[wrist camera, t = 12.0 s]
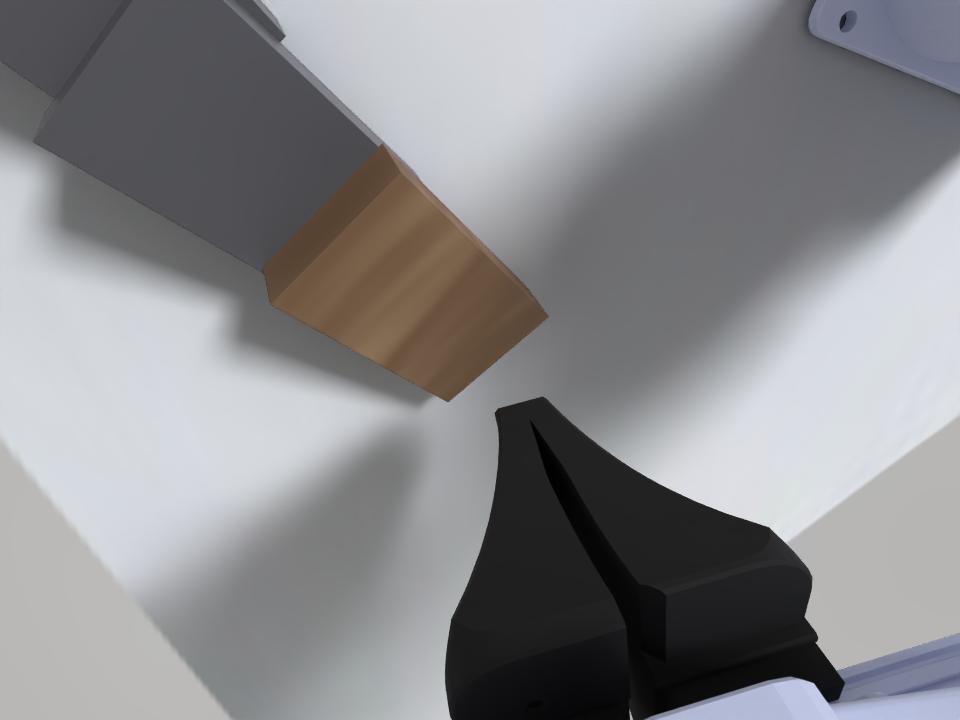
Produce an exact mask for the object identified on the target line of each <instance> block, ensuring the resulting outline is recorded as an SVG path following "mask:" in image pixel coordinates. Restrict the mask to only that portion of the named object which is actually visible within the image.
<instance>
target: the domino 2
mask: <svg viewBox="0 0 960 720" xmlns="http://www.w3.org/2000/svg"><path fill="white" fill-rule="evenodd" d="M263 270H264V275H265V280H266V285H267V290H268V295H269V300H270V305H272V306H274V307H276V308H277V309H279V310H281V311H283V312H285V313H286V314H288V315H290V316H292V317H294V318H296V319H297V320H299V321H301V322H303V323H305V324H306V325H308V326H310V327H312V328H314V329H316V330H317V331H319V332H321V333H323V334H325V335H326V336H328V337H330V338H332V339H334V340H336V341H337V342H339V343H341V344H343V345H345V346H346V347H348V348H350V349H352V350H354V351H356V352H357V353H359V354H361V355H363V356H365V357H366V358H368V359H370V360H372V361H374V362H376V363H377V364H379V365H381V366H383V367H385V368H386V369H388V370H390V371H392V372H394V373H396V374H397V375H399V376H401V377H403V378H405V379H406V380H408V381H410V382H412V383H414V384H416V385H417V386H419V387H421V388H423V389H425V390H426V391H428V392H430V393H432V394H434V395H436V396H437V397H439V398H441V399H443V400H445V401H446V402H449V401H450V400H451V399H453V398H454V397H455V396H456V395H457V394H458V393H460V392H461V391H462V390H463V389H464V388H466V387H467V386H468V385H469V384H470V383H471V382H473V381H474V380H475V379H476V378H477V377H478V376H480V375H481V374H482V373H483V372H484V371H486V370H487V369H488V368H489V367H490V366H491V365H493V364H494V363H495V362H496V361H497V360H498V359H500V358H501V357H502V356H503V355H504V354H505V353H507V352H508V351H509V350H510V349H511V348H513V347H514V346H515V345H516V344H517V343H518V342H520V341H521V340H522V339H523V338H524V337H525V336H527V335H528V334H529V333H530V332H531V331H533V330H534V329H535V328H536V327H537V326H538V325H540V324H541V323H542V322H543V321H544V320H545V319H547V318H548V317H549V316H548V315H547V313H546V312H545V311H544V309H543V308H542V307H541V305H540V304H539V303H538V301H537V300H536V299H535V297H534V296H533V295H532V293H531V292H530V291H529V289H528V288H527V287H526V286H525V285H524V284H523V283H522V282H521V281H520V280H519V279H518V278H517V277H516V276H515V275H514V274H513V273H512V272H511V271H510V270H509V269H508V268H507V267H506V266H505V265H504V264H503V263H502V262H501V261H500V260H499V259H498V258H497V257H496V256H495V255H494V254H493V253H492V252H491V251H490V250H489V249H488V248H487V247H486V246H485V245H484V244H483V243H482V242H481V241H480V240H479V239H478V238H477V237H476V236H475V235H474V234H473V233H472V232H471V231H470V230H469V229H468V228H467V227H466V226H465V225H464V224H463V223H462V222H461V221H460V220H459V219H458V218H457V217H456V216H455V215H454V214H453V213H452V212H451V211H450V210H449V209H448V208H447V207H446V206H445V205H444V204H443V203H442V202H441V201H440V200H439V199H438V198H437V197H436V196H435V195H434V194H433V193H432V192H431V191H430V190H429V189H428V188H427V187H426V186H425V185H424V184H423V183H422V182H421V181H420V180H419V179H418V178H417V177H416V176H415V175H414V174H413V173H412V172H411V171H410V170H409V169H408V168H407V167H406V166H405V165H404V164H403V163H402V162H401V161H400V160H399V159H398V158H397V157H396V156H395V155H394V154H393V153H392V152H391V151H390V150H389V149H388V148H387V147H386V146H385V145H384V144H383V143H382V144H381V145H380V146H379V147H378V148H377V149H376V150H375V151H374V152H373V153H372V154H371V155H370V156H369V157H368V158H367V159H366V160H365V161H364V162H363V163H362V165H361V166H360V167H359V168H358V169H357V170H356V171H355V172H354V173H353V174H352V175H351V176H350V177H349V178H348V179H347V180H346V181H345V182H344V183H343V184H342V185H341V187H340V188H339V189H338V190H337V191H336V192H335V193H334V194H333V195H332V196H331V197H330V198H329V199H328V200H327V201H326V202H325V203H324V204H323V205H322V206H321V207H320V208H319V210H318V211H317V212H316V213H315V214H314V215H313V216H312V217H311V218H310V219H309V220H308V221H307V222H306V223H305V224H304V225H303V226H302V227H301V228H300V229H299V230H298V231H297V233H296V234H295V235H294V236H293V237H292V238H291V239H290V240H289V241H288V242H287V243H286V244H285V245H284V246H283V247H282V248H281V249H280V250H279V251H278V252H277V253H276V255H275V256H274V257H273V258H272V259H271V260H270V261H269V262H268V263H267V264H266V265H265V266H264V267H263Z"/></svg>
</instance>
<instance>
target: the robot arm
mask: <svg viewBox="0 0 960 720" xmlns="http://www.w3.org/2000/svg"><path fill="white" fill-rule="evenodd" d="M844 13H845V14H846V22H845V25H844V26H843V28H842V29H841V30H840V27H839V23H840V20H841V18H842V16H843V15H844ZM809 29H810V31H811V33H812V34H813V35H814V36H816V37H818V38H821V39H823V40H825V41H828V42H830V43H833V44H835V45H838V46H840V47H843V48H845V49H848V50H850V51H853V52H855V53H858V54H860V55H863V56H865V57H868V58H870V59H873V60H875V61H878V62H880V63H883V64H885V65H888V66H890V67H893V68H895V69H898V70H900V71H903V72H905V73H908V74H910V75H913V76H915V77H918V78H920V79H923V80H925V81H928V82H930V83H933V84H935V85H938V86H940V87H942V88H945V89H947V90H950V91H952V92H955V93H957V94H960V0H816V2H815V4H814V6H813V8H812V11H811V14H810V17H809ZM495 417H496V422H497V426H498V432H499V455H498V470H497V478H496V486H495V493H494V499H493V504H492V509H491V513H490V518H489V522H488V526H487V529H486V533H485V536H484V540H483V543H482V547H481V550H480V553H479V556H478V558H477V561H476V564H475V566H474V569H473V572H472V574H471V577H470V580H469V582H468V584H467V587H466V589H465V591H464V593H463V596H462V598H461V600H460V602H459V604H458V606H457V608H456V610H455V613H454V615H453V617H452V619H451V625H450V631H449V637H448V644H447V652H446V663H445V685H446V693H447V700H448V707H449V712H450V717H451V719H452V720H630V713H629V709H630V712H631V715H632V717H633V720H960V633H957V634H954V635H951V636H948V637H944V638H941V639H938V640H935V641H932V642H928V643H925V644H922V645H919V646H915V647H912V648H909V649H905V650H903V651H899V652H896V653H893V654H889V655H887V656H883V657H880V658H876V659H873V660H870V661H867V662H864V663H860V664H857V665H854V666H851V667H847V668H844V669H841V670H838V671H836V670H835V668H834V667H833V666H832V664H831V663H830V661H829V660H828V659H827V658H826V656H825V655H824V653H823V652H822V651H821V650H820V648H819V647H818V645H817V644H816V643H815V642H817V640H818V636H817V633H816V632H815V630H814V629H813V628H812V627H811V625H810V624H809V623H808V621H807V620H806V619H805V613H806V609H807V605H808V601H809V598H810V593H811V589H812V576H811V573H810V571H809V569H808V568H807V567H806V565H805V564H804V563H803V562H802V561H801V560H800V558H799V557H798V556H797V555H796V554H795V552H794V551H793V550H792V549H791V548H789V546H788V545H787V544H786V543H785V542H784V541H783V540H782V539H781V538H780V537H778V536H777V535H776V534H775V533H774V532H773V531H772V530H771V529H770V528H769V527H766V526H763V525H760V524H757V523H754V522H751V521H748V520H744V519H741V518H738V517H735V516H732V515H729V514H726V513H723V512H721V511H718V510H716V509H713V508H711V507H708V506H705V505H703V504H700V503H698V502H696V501H693V500H691V499H689V498H687V497H685V496H683V495H681V494H678V493H676V492H674V491H672V490H670V489H668V488H666V487H664V486H662V485H660V484H658V483H656V482H655V481H653V480H651V479H649V478H647V477H646V476H644V475H642V474H641V473H639V472H637V471H636V470H634V469H632V468H631V467H629V466H628V465H626V464H624V463H623V462H621V461H620V460H618V459H617V458H616V457H614V456H613V455H611V454H610V453H609V452H607V451H606V450H604V449H603V448H602V447H600V446H599V445H598V444H596V443H595V442H594V441H593V440H591V439H590V438H589V437H588V436H586V435H585V434H584V433H583V432H582V431H580V430H579V429H578V428H577V427H576V426H574V425H573V424H572V423H571V422H570V421H569V420H568V419H567V418H566V417H564V416H563V415H562V414H561V413H560V412H559V411H558V410H557V409H556V408H555V407H554V406H553V405H552V404H551V403H550V402H549V401H548V400H547V399H546V398H544V397H539V398H536V399H532V400H528V401H524V402H521V403H517V404H513V405H510V406H506V407H502V408H498V409H497V411H496V412H495Z"/></svg>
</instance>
